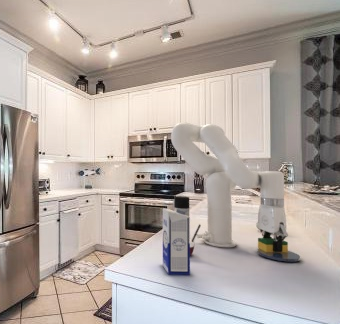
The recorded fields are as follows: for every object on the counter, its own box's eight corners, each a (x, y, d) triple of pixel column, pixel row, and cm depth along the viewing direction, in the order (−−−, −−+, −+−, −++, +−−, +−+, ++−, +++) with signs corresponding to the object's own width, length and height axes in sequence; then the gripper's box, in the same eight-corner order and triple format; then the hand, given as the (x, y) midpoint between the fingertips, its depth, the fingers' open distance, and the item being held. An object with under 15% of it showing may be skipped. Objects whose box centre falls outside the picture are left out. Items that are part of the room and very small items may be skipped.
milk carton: (162, 265, 85) (162, 207, 85) (182, 266, 85) (182, 207, 85) (168, 274, 78) (168, 210, 78) (190, 275, 78) (190, 210, 78)
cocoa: (171, 253, 97) (171, 222, 97) (177, 249, 102) (177, 220, 102) (196, 260, 91) (196, 226, 91) (202, 255, 95) (202, 224, 96)
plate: (272, 263, 88) (272, 258, 88) (249, 250, 101) (249, 247, 101) (310, 263, 88) (310, 259, 88) (282, 251, 101) (282, 247, 101)
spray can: (178, 236, 121) (178, 195, 121) (191, 239, 116) (191, 196, 116) (171, 239, 116) (171, 196, 116) (185, 242, 111) (185, 198, 112)
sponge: (266, 252, 95) (266, 241, 95) (258, 247, 100) (257, 237, 100) (287, 252, 95) (287, 242, 95) (278, 248, 100) (278, 238, 100)
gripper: (249, 199, 106) (249, 242, 106) (277, 205, 89) (278, 256, 89) (267, 199, 106) (267, 242, 106) (299, 206, 89) (299, 257, 89)
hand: (272, 248), depth 97 cm, fingers closed on sponge, 5 cm apart
